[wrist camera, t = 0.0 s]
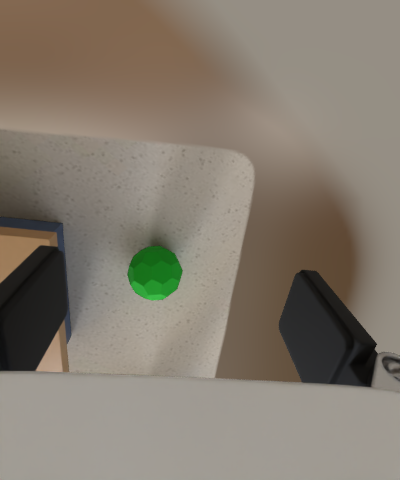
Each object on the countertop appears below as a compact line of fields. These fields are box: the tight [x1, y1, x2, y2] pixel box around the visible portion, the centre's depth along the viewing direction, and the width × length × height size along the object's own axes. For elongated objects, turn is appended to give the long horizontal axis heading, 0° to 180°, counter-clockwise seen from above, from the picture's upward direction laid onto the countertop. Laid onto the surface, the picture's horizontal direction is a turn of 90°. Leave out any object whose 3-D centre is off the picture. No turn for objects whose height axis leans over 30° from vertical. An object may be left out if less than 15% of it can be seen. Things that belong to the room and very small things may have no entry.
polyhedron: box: [128, 246, 183, 300], centre depth 25 cm, size 5×5×5 cm
